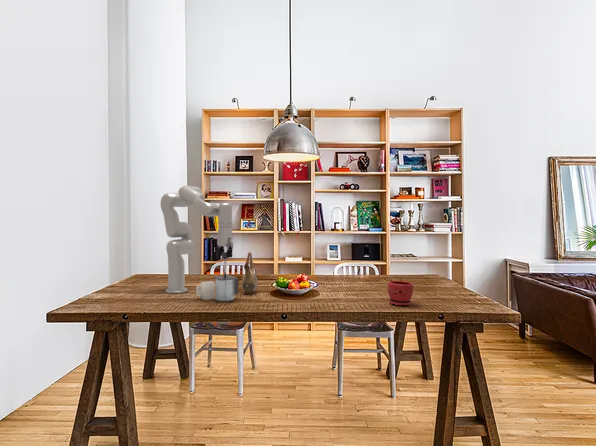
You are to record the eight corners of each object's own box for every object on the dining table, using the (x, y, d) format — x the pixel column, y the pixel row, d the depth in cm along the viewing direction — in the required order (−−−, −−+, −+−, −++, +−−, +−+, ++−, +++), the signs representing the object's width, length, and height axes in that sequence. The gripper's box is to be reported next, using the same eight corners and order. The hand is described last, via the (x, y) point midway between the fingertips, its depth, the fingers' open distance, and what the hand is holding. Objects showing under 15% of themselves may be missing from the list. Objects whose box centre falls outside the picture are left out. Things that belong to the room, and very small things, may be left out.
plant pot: (408, 308, 206) (409, 285, 206) (384, 305, 213) (384, 282, 213) (415, 303, 217) (416, 281, 217) (392, 300, 224) (392, 279, 224)
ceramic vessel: (253, 296, 232) (253, 253, 231) (238, 295, 233) (238, 253, 232) (260, 290, 248) (260, 250, 247) (246, 290, 249) (246, 250, 248)
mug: (194, 298, 226) (194, 282, 226) (211, 296, 232) (211, 280, 232) (199, 300, 220) (199, 284, 219) (216, 298, 226) (216, 282, 225)
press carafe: (213, 299, 223) (213, 276, 223) (233, 296, 231) (233, 274, 230) (220, 302, 215) (220, 279, 215) (241, 299, 223) (241, 277, 222)
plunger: (217, 281, 222) (217, 252, 222) (227, 280, 226) (227, 251, 226) (222, 283, 217) (222, 253, 216) (233, 282, 221) (233, 252, 220)
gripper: (212, 225, 225) (212, 255, 226) (226, 226, 211) (226, 258, 212) (224, 225, 230) (224, 254, 230) (238, 225, 216) (238, 257, 216)
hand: (225, 256), depth 221 cm, fingers open, 9 cm apart
